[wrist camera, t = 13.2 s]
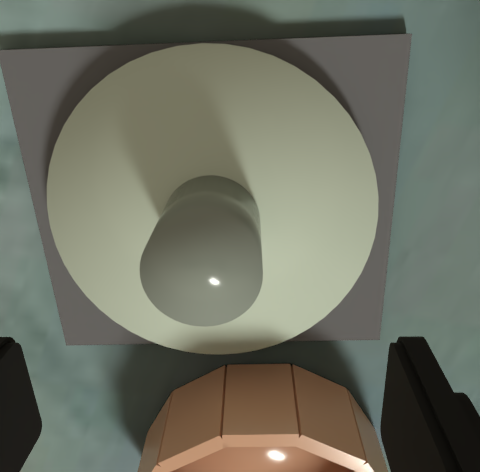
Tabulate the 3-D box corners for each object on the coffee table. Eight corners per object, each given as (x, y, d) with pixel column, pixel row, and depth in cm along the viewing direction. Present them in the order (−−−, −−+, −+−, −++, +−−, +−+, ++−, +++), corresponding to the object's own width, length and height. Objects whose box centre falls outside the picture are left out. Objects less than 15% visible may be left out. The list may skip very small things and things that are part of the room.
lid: (387, 35, 18) (445, 36, 13) (361, 340, 25) (393, 428, 19) (22, 50, 19) (-71, 58, 14) (85, 345, 25) (39, 432, 20)
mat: (407, 33, 19) (411, 34, 18) (376, 333, 25) (379, 339, 25) (4, 49, 20) (-3, 50, 19) (70, 338, 26) (66, 345, 25)
